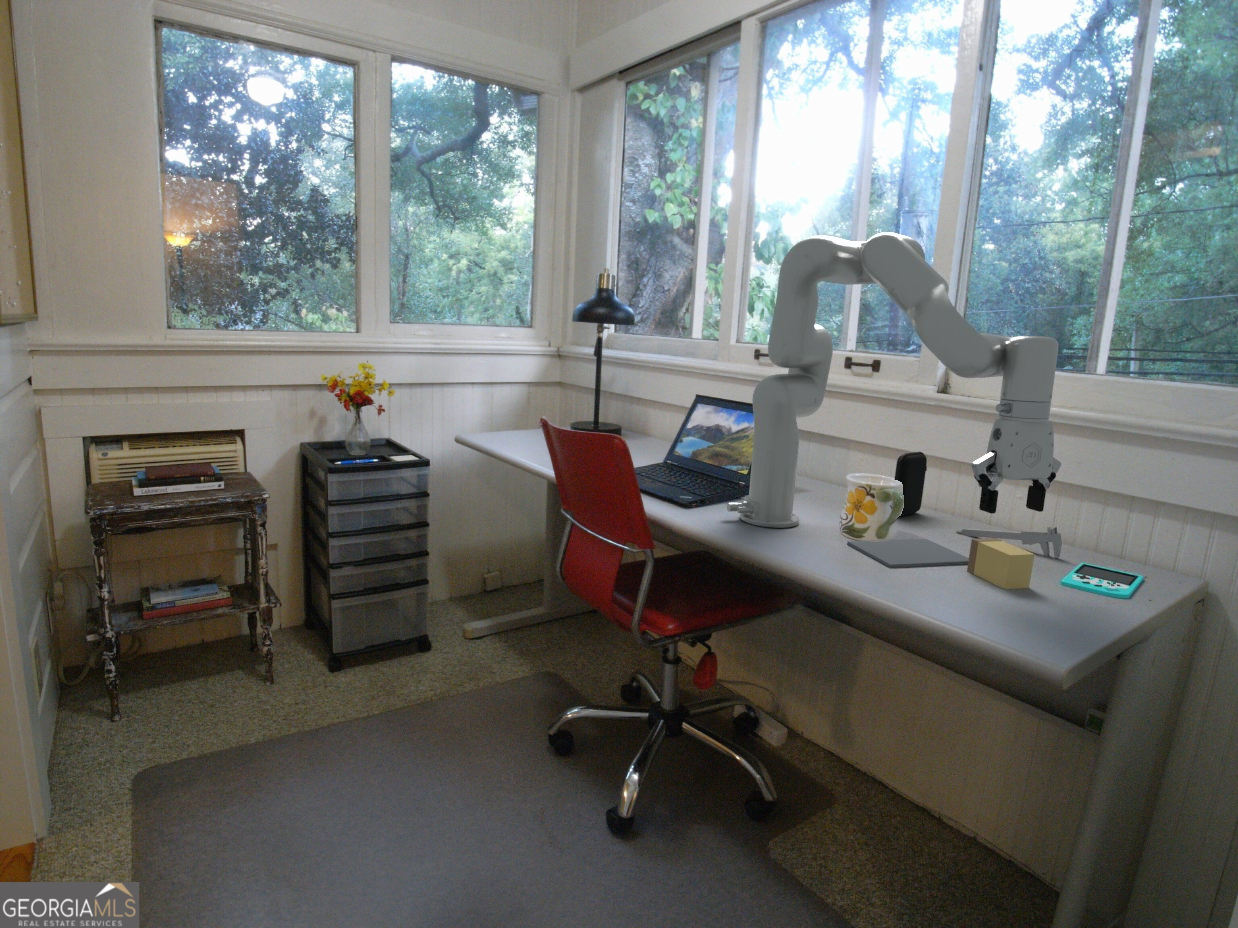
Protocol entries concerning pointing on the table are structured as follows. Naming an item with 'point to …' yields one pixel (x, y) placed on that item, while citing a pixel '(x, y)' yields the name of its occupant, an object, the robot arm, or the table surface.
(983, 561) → the card box
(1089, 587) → the handheld game console
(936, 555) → the desk mat
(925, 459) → the carrying case or bag
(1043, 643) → the table surface
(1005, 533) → the caliper
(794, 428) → the robot arm
